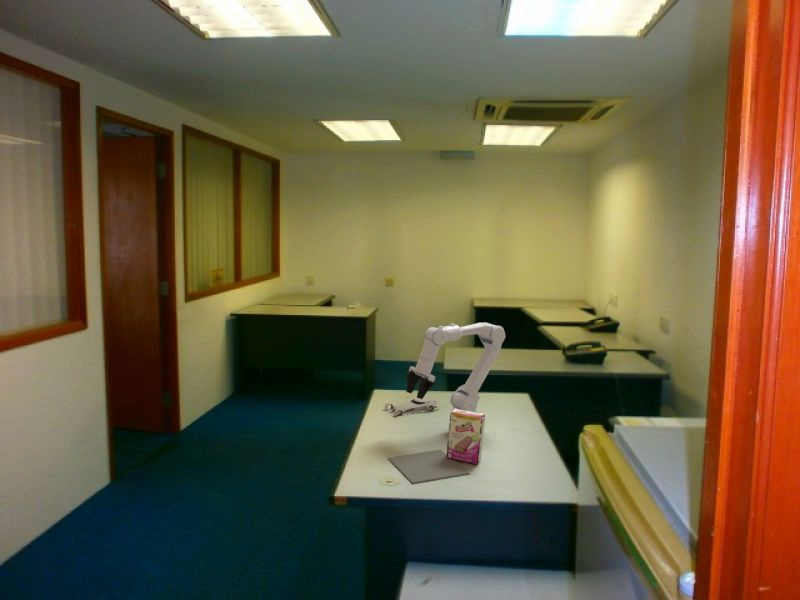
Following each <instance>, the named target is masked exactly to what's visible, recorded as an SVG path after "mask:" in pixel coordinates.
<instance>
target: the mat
mask: <svg viewBox="0 0 800 600" xmlns="http://www.w3.org/2000/svg"><path fill="white" fill-rule="evenodd" d="M446 455H447V452H445V451H443V450H442V449H436V450H431V451H430V450H429V451H423V452H417V453H415V452H414V453H411V454H405V455H404V454H403V455H398V456H392V457H391V456H390V457H387V460H388V461H389V460H390V461H391V462H392V463H391V462H390V461H389V462H390V463H391V464H392V465H393V466H394V465H395V466H394V467H395V468H396V469H397V470H398V471H399V472H400V473H401V474H402V475H403V476H404V477H405V478H406V479H407V480H408V481H409V483H410V484H412V485H416V484H421V483H427V482H433V481H439V480H443V479H450V478H454V477H456V478H457V477H461V476H466V475H470V473H471V472H470V471H468V470H467V469H466V468H465V467H463V466H462V465H461V464H460V463H458V462H457V460H453V459H448V458H446Z"/></svg>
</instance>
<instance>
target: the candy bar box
mask: <svg viewBox="0 0 800 600" xmlns="http://www.w3.org/2000/svg"><path fill="white" fill-rule="evenodd" d="M449 416H450V417H449V424H448V425H449V426H448V427H449V428H448V436H447V445H446V454H447V455H446V458H448V459H453V460H454V461H458V462H463V463H469V464H474V465H479V463H480V462H481V459H482V450H483V441H484V440H483V439H484V431H485V430H484V429H485V421H486V414H485V413H481V412H478V413H476V412H471V411H465V410H460V409H453V408H452V410H451V411H450V414H449Z"/></svg>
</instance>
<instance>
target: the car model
mask: <svg viewBox="0 0 800 600" xmlns="http://www.w3.org/2000/svg"><path fill="white" fill-rule="evenodd" d="M439 403H440V400H439V399H436V398H431V397H423V399H419V398H417V397H414V398H413V399H411V400H408V401H404V402H401V403H398V404H396V405H394V404H393V403H392V402H387V403H385V405H384V409H385V412H386V413H387V412H388V413H387V414H392V415H393V416H392V417H395V416H396V418H399V417H398V416H401V417H404V416H406V415H405V414H409V415H413V414H415V413H416V414H424V413H426V414H427V413H429V414H430V413H433V412H436V411H438V410H439V409H440V408H439V407H438V406H435V405H437V404H439ZM388 406H390V408H389V409H388ZM403 415H404V416H403Z"/></svg>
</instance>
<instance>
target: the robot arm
mask: <svg viewBox="0 0 800 600" xmlns="http://www.w3.org/2000/svg"><path fill="white" fill-rule="evenodd" d="M471 335H472V336H474V335H477V336H478V337H479V339H480V341H481V343H482V345H483V346H484V348H483V349H484V350H483V352H482V354H481V356H480V358H479V359H478V361H477V363H476V364H475V366H474V368H473V370H472V371H471V373H470V375H469V377H468V378H467V380H466V382H465V384H462V385H461V386H458V387H457V389H456V390H455V391H454V392H453V393H452V394H451V396H450V405H451V406H452V407H453V408H452V410H453V409H460V410H465V411H471V412H476V413H479V412H478V410H476V409H477V407H478V403H479V400H480V394H479V390H480V389H481V387H482V384H483V383H484V382H485V379H486V378H487V376H488V375H489V372H490V371H491V369H492V367H493V366H494V363H495V362H496V360H497V358H498V357H499V355H500V353H501V349H502V344H503V343H504V341H505V339H506V332H505V330H504V327H502V326H501V325H495V324H492V323H489V322H485V321H484V322H477V323H472V324H468V325H464V326H459V325H458V324H455V323H450V324H449V325H446V326H443V325H439V326H438V327H436V326H435V327H434V326H431V327H429V328H428V329H427V330H426V331H424V333H423V337H424V341H423V346H422V349H421V351H420V354H419V357H418V360H417V363H416V364H415V366H411V365H410V366H409V369H408V371H406V387H405V388H406V390H405V392H406V393H409V394H412V393H413V392H414V390H415V387H416V385H417V384H418V382H419V386H418V391H417V394H416V398H419V399H423V398H425V396H426V395H427V393H428V392H429V390H430V389H431V388H433V386H435V379H436V375H435V376H434V375H433V374H431V373H432V370H433V367H434V364H435V361H436V358H437V356H438V353H439V350H440V347H441V346H442V345H444V344H445V343H447V342H453V341H459V340H460V339H461V337H463V336H471Z"/></svg>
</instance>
